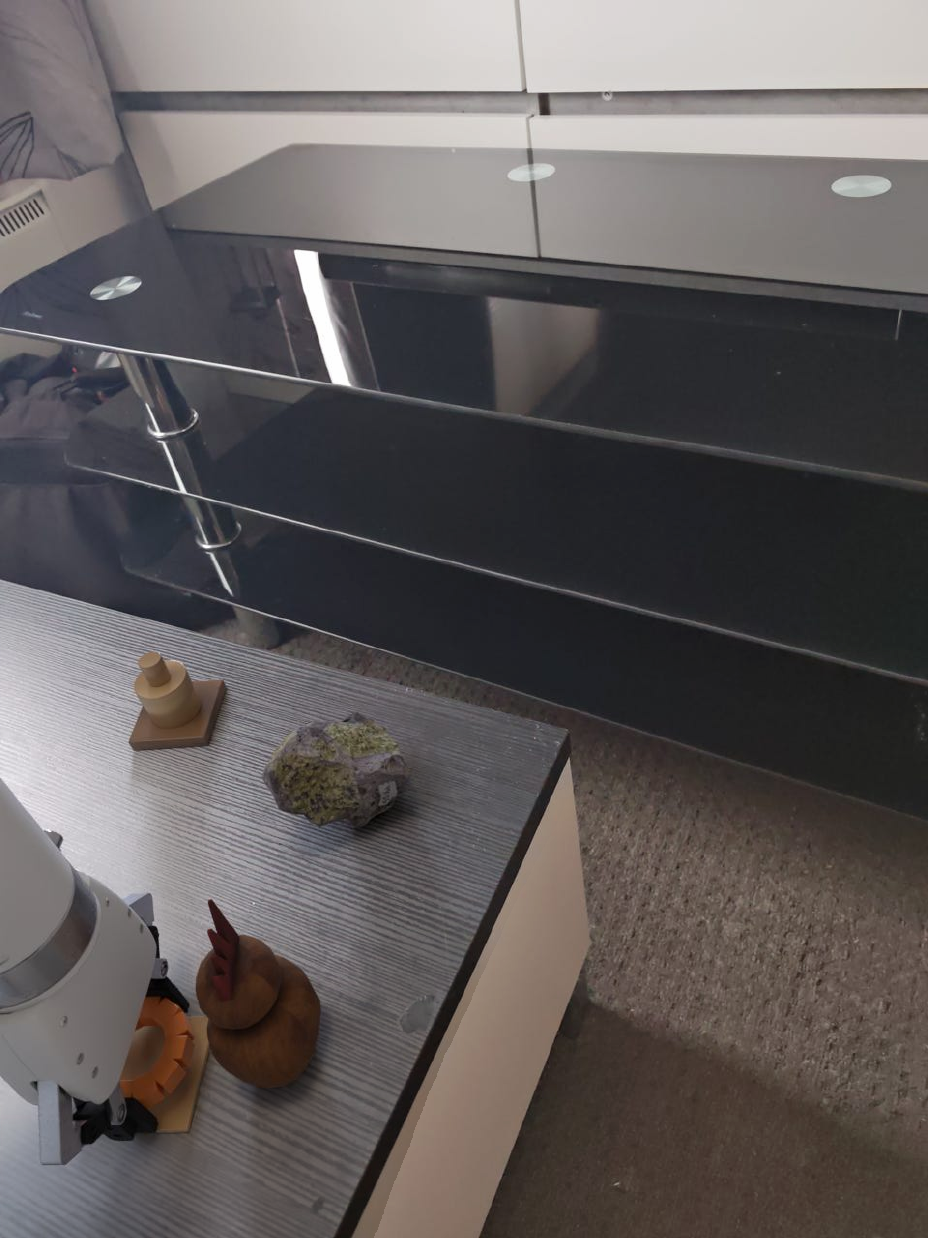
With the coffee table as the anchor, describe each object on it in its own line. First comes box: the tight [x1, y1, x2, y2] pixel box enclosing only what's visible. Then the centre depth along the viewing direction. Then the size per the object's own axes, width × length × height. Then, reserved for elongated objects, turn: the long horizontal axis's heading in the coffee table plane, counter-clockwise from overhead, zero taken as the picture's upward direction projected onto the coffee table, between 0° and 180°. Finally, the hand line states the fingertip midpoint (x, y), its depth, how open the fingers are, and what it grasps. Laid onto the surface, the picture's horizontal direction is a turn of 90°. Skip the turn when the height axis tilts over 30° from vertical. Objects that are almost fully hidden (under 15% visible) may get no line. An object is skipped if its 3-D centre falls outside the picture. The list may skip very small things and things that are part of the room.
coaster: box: [119, 1016, 211, 1133], centre depth 59 cm, size 7×7×1 cm
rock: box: [260, 711, 410, 829], centre depth 69 cm, size 11×10×10 cm
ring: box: [119, 997, 195, 1108], centre depth 57 cm, size 7×7×1 cm
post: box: [127, 650, 228, 751], centre depth 80 cm, size 7×7×8 cm
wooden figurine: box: [195, 898, 322, 1089], centre depth 54 cm, size 7×6×15 cm
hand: (151, 1066), depth 59 cm, fingers closed on ring, 6 cm apart
